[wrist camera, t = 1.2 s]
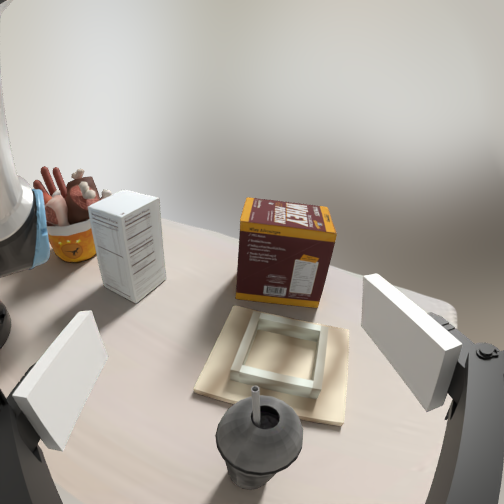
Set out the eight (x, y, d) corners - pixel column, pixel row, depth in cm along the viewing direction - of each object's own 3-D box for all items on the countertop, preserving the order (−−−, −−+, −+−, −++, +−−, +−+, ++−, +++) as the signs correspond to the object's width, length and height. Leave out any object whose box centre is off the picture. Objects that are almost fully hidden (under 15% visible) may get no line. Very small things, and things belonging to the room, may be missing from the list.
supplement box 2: (240, 267, 63) (246, 196, 55) (314, 275, 63) (329, 206, 55) (233, 299, 54) (238, 220, 46) (318, 308, 54) (338, 232, 46)
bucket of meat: (130, 243, 67) (122, 160, 57) (81, 281, 54) (61, 186, 43) (77, 226, 72) (67, 155, 62) (32, 255, 59) (14, 177, 48)
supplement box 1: (168, 279, 57) (162, 197, 49) (136, 305, 50) (122, 217, 41) (133, 263, 61) (124, 187, 52) (102, 286, 53) (86, 205, 45)
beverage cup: (290, 489, 26) (352, 412, 16) (227, 506, 24) (233, 450, 13) (268, 440, 32) (302, 331, 21) (210, 453, 29) (201, 351, 19)
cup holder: (194, 392, 37) (192, 378, 35) (233, 309, 52) (234, 293, 50) (341, 426, 33) (350, 414, 32) (347, 333, 49) (353, 318, 47)
